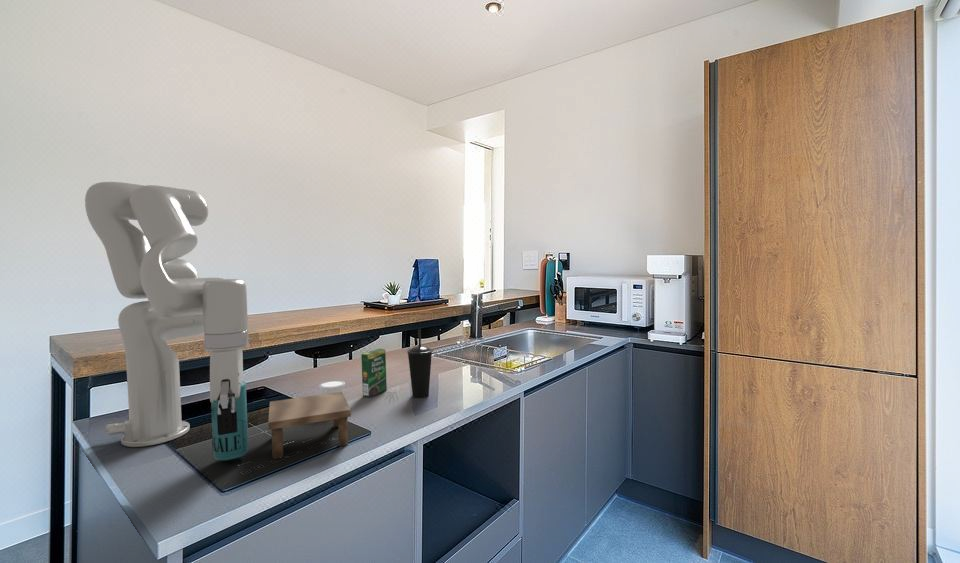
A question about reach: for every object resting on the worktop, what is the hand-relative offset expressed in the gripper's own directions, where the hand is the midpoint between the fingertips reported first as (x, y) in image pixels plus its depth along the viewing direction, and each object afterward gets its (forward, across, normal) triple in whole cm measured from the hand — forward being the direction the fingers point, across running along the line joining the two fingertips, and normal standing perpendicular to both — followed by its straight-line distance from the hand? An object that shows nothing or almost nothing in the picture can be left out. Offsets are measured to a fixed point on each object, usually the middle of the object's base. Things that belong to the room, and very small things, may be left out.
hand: (230, 424), depth 84 cm
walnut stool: (+8, -3, +15) cm, 17 cm away
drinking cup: (+8, -22, +47) cm, 52 cm away
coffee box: (+8, -30, +35) cm, 47 cm away
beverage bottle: (+8, 0, 0) cm, 8 cm away
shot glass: (+8, -22, +22) cm, 32 cm away
